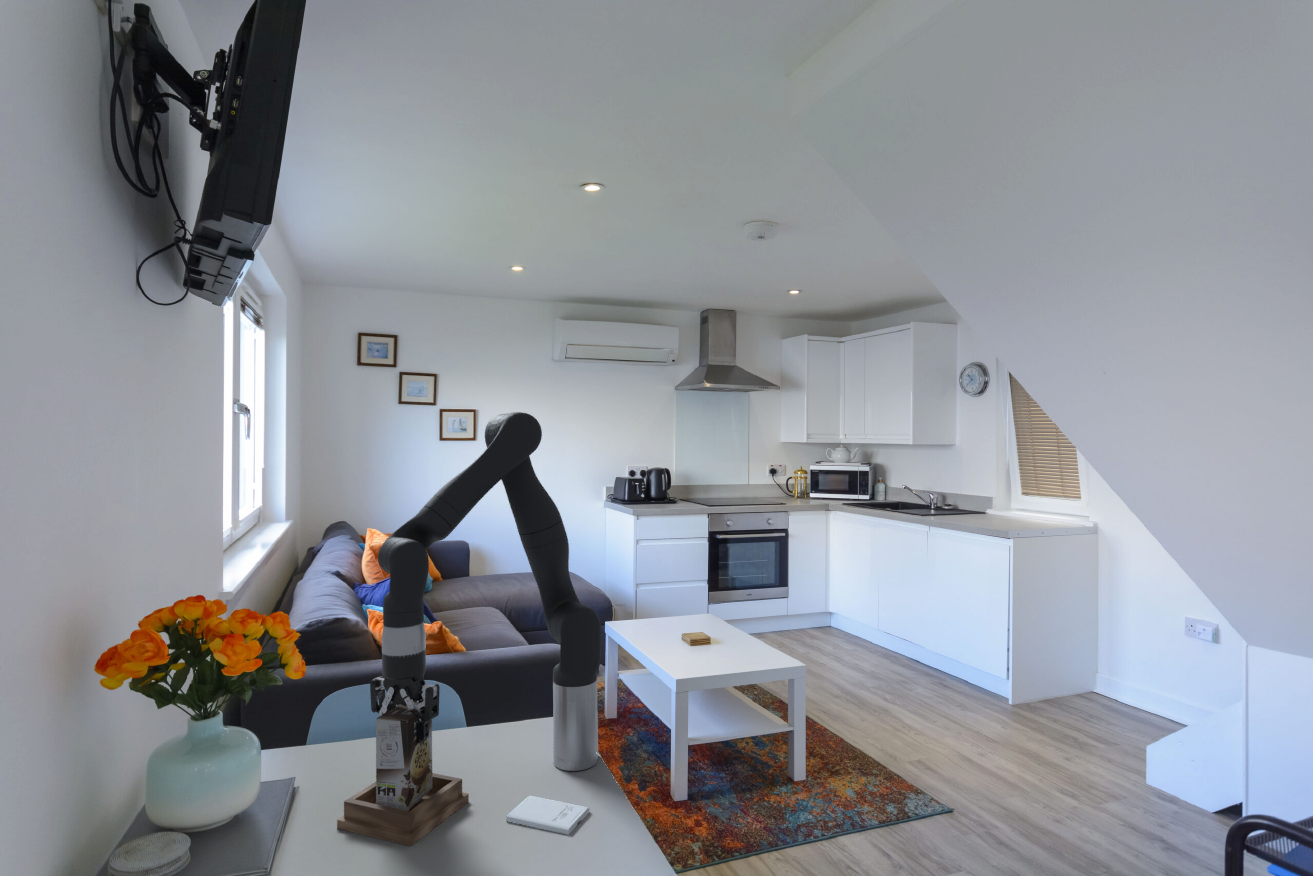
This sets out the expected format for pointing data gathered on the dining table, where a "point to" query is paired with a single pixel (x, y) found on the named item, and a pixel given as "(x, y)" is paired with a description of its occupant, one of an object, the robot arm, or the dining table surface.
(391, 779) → the coffee box
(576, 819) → the external hard drive
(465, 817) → the dining table surface
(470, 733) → the dining table surface
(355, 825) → the wooden tray
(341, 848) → the dining table surface
